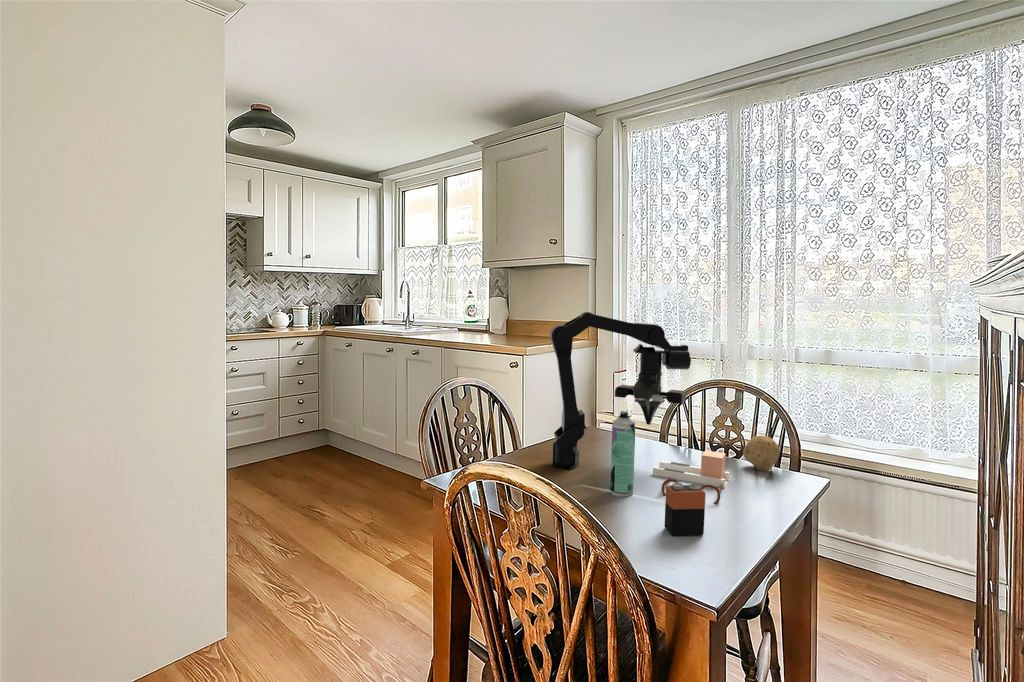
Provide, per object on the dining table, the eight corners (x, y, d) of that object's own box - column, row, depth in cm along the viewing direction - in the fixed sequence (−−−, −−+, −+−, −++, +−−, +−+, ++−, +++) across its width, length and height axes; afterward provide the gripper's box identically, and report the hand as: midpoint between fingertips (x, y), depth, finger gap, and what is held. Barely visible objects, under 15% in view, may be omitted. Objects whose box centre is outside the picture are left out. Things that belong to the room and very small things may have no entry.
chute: (652, 477, 145) (653, 466, 145) (659, 469, 151) (660, 459, 151) (724, 489, 136) (724, 478, 136) (729, 481, 142) (729, 471, 142)
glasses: (660, 499, 130) (661, 479, 130) (668, 482, 142) (669, 464, 142) (719, 509, 125) (720, 487, 125) (722, 490, 137) (723, 471, 136)
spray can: (634, 490, 135) (637, 410, 133) (631, 498, 130) (634, 415, 128) (612, 487, 137) (614, 408, 135) (608, 495, 131) (611, 413, 130)
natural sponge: (738, 471, 151) (740, 435, 150) (747, 463, 158) (748, 429, 157) (774, 478, 146) (776, 441, 145) (781, 470, 153) (783, 435, 152)
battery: (663, 527, 113) (665, 480, 113) (695, 527, 114) (697, 480, 113) (671, 537, 109) (673, 488, 108) (704, 536, 110) (706, 487, 109)
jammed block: (700, 481, 140) (701, 455, 140) (704, 476, 144) (705, 450, 144) (721, 485, 138) (722, 458, 137) (724, 479, 142) (725, 453, 141)
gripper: (608, 369, 150) (606, 425, 151) (677, 375, 141) (675, 435, 142) (621, 365, 160) (620, 418, 161) (687, 370, 150) (685, 426, 152)
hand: (648, 424), depth 154 cm, fingers closed
